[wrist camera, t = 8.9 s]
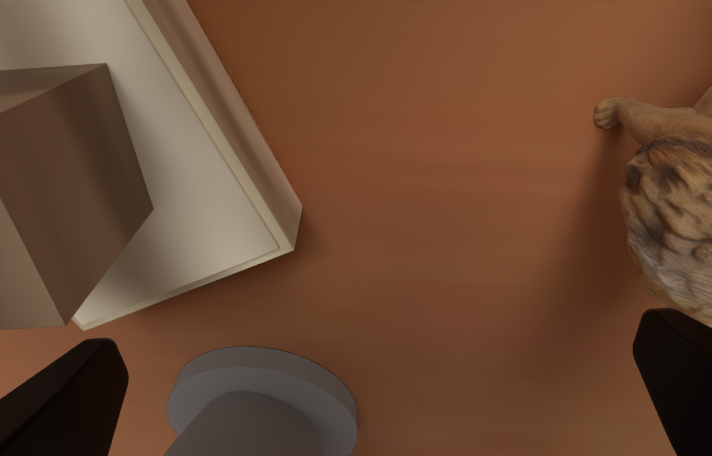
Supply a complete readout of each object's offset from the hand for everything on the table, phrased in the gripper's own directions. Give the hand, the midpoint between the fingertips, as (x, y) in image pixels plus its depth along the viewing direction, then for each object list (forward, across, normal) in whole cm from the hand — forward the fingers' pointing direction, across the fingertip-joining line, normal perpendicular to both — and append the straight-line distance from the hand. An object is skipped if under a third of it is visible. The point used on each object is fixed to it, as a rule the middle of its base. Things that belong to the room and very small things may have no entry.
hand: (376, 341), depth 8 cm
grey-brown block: (+9, +10, -1) cm, 13 cm away
